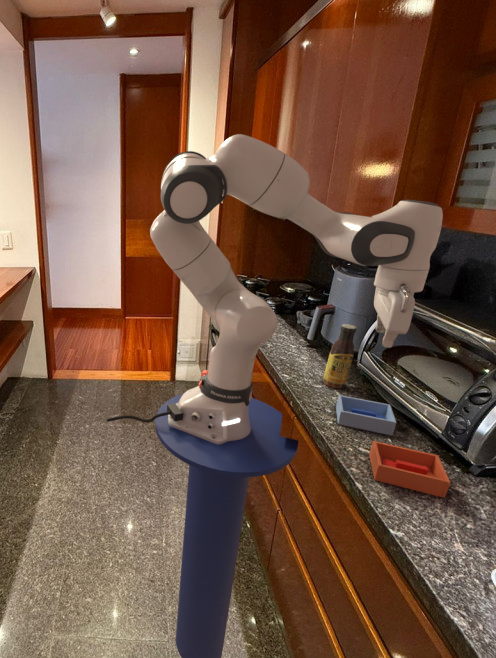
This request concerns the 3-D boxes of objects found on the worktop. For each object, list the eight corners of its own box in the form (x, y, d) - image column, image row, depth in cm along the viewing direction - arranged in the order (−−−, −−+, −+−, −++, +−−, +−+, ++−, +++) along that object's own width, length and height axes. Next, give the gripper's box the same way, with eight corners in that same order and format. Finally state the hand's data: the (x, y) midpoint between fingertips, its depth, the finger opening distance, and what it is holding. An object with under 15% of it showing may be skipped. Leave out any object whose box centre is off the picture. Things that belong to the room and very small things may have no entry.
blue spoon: (350, 419, 104) (352, 411, 103) (349, 413, 107) (351, 405, 106) (385, 426, 101) (388, 418, 100) (384, 419, 104) (386, 412, 103)
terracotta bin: (374, 480, 84) (378, 465, 82) (369, 454, 91) (373, 440, 90) (444, 498, 79) (450, 482, 77) (432, 469, 87) (438, 455, 85)
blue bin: (337, 424, 103) (340, 411, 101) (335, 407, 111) (338, 394, 109) (392, 435, 98) (396, 422, 96) (386, 417, 106) (390, 404, 104)
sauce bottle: (326, 388, 120) (339, 329, 113) (319, 379, 126) (331, 322, 118) (349, 390, 119) (364, 330, 112) (340, 380, 125) (354, 322, 118)
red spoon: (422, 472, 85) (426, 463, 84) (426, 482, 82) (429, 473, 81) (380, 462, 88) (382, 453, 87) (382, 471, 86) (384, 462, 85)
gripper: (429, 293, 73) (409, 358, 79) (407, 271, 90) (391, 326, 96) (390, 289, 76) (372, 353, 81) (375, 269, 93) (362, 323, 98)
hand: (382, 338), depth 89 cm, fingers open, 8 cm apart
